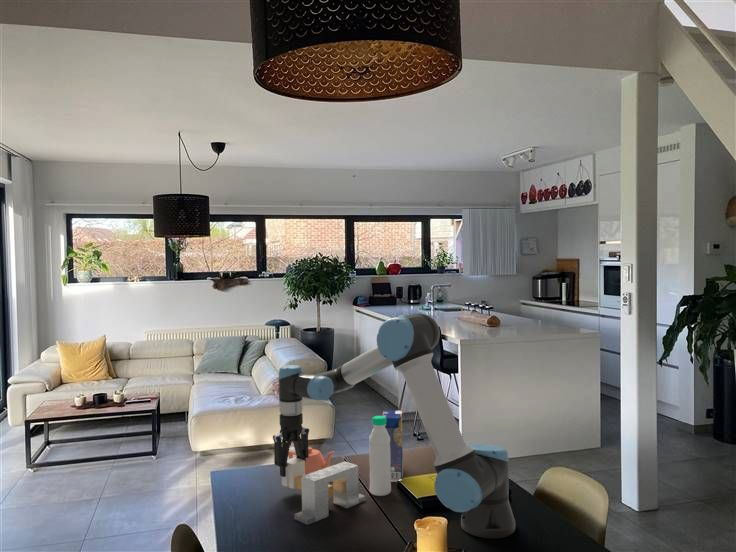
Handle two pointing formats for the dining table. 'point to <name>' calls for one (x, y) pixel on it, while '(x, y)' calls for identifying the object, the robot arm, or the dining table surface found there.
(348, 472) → the white arch block
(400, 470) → the beverage box
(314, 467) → the teapot
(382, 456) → the water bottle
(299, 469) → the mallet
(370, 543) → the dining table surface
